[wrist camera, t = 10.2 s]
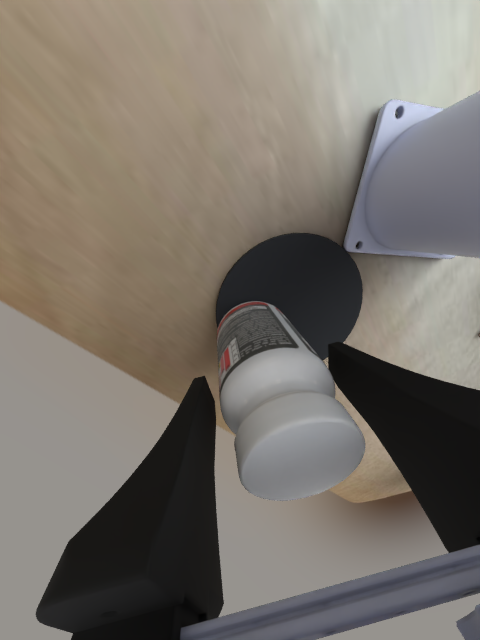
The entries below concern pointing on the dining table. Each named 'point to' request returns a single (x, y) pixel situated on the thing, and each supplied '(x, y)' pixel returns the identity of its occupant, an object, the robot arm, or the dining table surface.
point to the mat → (299, 286)
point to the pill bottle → (282, 407)
